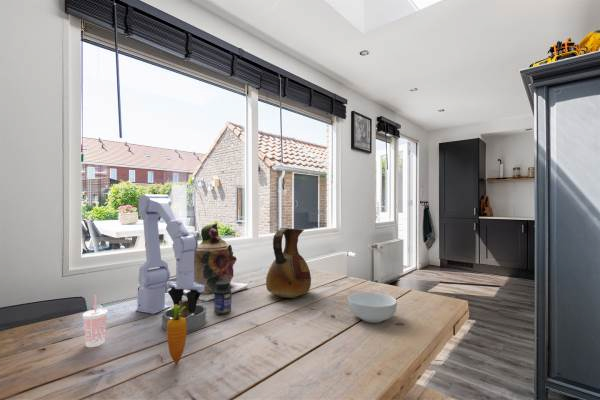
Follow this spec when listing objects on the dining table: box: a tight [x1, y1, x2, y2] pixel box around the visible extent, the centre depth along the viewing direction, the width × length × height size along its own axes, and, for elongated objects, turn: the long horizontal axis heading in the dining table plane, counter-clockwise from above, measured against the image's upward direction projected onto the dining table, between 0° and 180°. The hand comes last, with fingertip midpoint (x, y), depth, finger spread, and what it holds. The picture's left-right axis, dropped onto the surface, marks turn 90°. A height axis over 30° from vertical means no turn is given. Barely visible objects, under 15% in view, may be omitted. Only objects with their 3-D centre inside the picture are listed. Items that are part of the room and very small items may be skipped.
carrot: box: [166, 304, 187, 364], centre depth 77 cm, size 5×5×15 cm
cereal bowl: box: [347, 291, 398, 324], centre depth 106 cm, size 17×17×7 cm
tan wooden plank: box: [179, 297, 191, 318], centre depth 102 cm, size 2×4×7 cm, turn 159°
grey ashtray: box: [161, 303, 208, 332], centre depth 102 cm, size 14×14×4 cm
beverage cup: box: [82, 294, 109, 348], centre depth 87 cm, size 6×6×14 cm
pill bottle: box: [213, 281, 232, 316], centre depth 112 cm, size 6×6×11 cm
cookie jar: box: [183, 221, 249, 302], centre depth 140 cm, size 25×25×32 cm
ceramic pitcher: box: [265, 227, 312, 299], centre depth 133 cm, size 20×20×30 cm
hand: (185, 310), depth 102 cm, fingers open, 5 cm apart
